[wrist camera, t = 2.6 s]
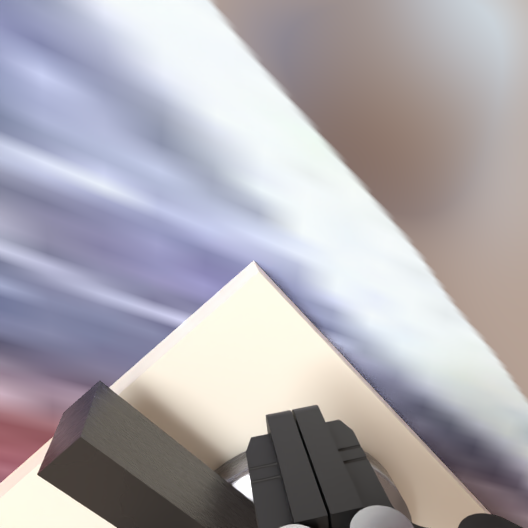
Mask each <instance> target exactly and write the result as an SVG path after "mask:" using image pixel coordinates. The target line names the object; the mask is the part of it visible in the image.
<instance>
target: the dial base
mask: <svg viewBox="0 0 528 528" xmlns="http://www.w3.org/2000/svg"><path fill="white" fill-rule="evenodd" d="M109 388H110V389H111V390H112V391H114V392H115V393H116V394H117V395H119V396H120V397H121V398H123V399H124V400H125V401H126V402H128V403H129V404H130V405H131V406H133V407H134V408H135V409H136V410H138V411H139V412H140V413H141V414H143V415H144V416H145V417H146V418H148V419H149V420H150V421H152V422H153V423H154V424H155V425H157V426H158V427H159V428H160V429H162V430H163V431H164V432H165V433H167V434H168V435H169V436H170V437H172V438H173V439H174V440H175V441H177V442H178V443H179V444H180V445H182V446H183V447H184V448H186V449H187V450H188V451H189V452H191V453H192V454H193V455H194V456H196V457H197V458H198V459H199V460H201V461H202V462H203V463H204V464H206V465H207V466H208V467H209V468H211V469H212V470H213V471H214V470H216V469H217V468H218V467H220V466H221V465H222V464H224V463H225V462H227V461H228V460H230V459H232V458H233V457H235V456H237V455H239V454H240V453H243V452H245V451H246V450H247V447H248V444H249V442H250V439H251V437H255V436H260V435H265V434H268V432H267V424H266V415H267V414H272V413H277V412H282V411H287V410H291V412H292V409H297V408H302V407H307V406H312V405H318V407H319V409H320V411H321V413H322V415H323V417H324V420H325V422H329V421H334V420H341V421H342V422H343V423H344V424H346V425H347V426H348V427H349V428H351V429H352V430H353V431H354V433H355V435H356V437H357V439H358V441H359V443H360V446H361V447H362V449H363V451H365V452H367V453H368V454H370V455H371V456H372V457H374V458H375V459H376V460H377V461H378V462H380V464H381V465H382V466H383V467H384V468H385V469H386V470H387V472H388V474H389V475H390V477H391V479H392V480H393V482H394V484H395V485H396V487H397V489H398V491H399V493H400V494H401V496H402V498H403V500H404V501H405V503H406V505H407V507H408V510H409V512H410V515H411V518H412V523H414V524H416V525H419V526H422V527H426V528H458V526H459V524H460V522H461V521H462V520H463V519H464V518H465V517H467V516H469V515H472V514H477V513H487V514H491V513H490V512H489V511H488V510H487V509H486V508H485V507H484V506H483V505H482V504H481V503H480V502H479V501H478V499H477V498H476V497H475V496H474V495H473V494H472V493H471V492H470V491H469V490H468V489H467V488H466V487H465V486H464V484H463V483H462V482H461V481H460V480H459V479H458V478H457V477H456V476H455V475H454V474H453V473H452V472H451V471H450V470H449V468H448V467H447V466H446V465H445V464H444V463H443V462H442V461H441V460H440V459H439V458H438V457H437V456H436V455H435V454H434V452H433V451H432V450H431V449H430V448H429V447H428V446H427V445H426V444H425V443H424V442H423V441H422V440H421V439H420V438H419V436H418V435H417V434H416V433H415V432H414V431H413V430H412V429H411V428H410V427H409V426H408V425H407V424H406V423H405V422H404V420H403V419H402V418H401V417H400V416H399V415H398V414H397V413H396V412H395V411H394V410H393V409H392V408H391V407H390V405H389V404H388V403H387V402H386V401H385V400H384V399H383V398H382V397H381V396H380V395H379V394H378V393H377V392H376V391H375V389H374V388H373V387H372V386H371V385H370V384H369V383H368V382H367V381H366V380H365V379H364V378H363V377H362V376H361V375H360V373H359V372H358V371H357V370H356V369H355V368H354V367H353V366H352V365H351V364H350V363H349V362H348V361H347V360H346V359H345V357H344V356H343V355H342V354H341V353H340V352H339V351H338V350H337V349H336V348H335V347H334V346H333V345H332V344H331V343H330V341H329V340H328V339H327V338H326V337H325V336H324V335H323V334H322V333H321V332H320V331H319V330H318V329H317V328H316V327H315V325H314V324H313V323H312V322H311V321H310V320H309V319H308V318H307V317H306V316H305V315H304V314H303V313H302V312H301V310H300V309H299V308H298V307H297V306H296V305H295V304H294V303H293V302H292V301H291V300H290V299H289V298H288V297H287V296H286V294H285V293H284V292H283V291H282V290H281V289H280V288H279V287H278V286H277V285H276V284H275V283H274V282H273V281H272V280H271V278H270V277H269V276H268V275H267V274H266V273H265V272H264V271H263V270H262V269H261V268H260V267H259V266H258V265H257V264H256V262H255V261H253V262H251V263H250V264H249V265H248V266H247V267H246V268H245V269H244V270H242V271H241V272H240V273H239V274H238V275H237V276H236V277H234V278H233V279H232V280H231V281H230V282H229V283H228V284H226V285H225V286H224V287H223V288H222V289H221V290H220V291H218V292H217V293H216V294H215V295H214V296H213V297H212V298H211V299H209V300H208V301H207V302H206V303H205V304H204V305H203V306H201V307H200V308H199V309H198V310H197V311H196V312H195V313H193V314H192V315H191V316H190V317H189V318H188V319H187V320H186V321H184V322H183V323H182V324H181V325H180V326H179V327H178V328H176V329H175V330H174V331H173V332H172V333H171V334H170V335H168V336H167V337H166V338H165V339H164V340H163V341H162V342H160V343H159V344H158V345H157V346H156V347H155V348H154V349H153V350H151V351H150V352H149V353H148V354H147V355H146V356H145V357H143V358H142V359H141V360H140V361H139V362H138V363H137V364H135V365H134V366H133V367H132V368H131V369H130V370H129V371H128V372H126V373H125V374H124V375H123V376H122V377H121V378H120V379H118V380H117V381H116V382H115V383H114V384H113V385H112V386H110V387H109ZM52 439H53V437H52V438H51V439H50V440H49V441H48V442H47V443H46V444H44V445H43V446H42V447H41V448H40V449H39V450H38V451H37V452H35V453H34V454H33V455H32V456H31V457H30V458H29V459H27V460H26V461H25V462H24V463H23V464H22V465H21V466H19V467H18V468H17V469H16V470H15V471H14V472H13V473H12V474H10V475H9V476H8V477H7V478H6V479H5V480H4V481H2V482H1V483H0V528H117V527H115V526H114V525H112V524H110V523H109V522H107V521H106V520H104V519H103V518H101V517H100V516H98V515H97V514H95V513H94V512H92V511H91V510H89V509H88V508H86V507H85V506H83V505H82V504H80V503H79V502H77V501H76V500H74V499H73V498H71V497H70V496H68V495H67V494H65V493H64V492H62V491H61V490H59V489H58V488H56V487H55V486H53V485H52V484H50V483H49V482H47V481H46V480H44V479H43V478H41V477H40V476H38V475H37V473H38V471H39V469H40V466H41V464H42V462H43V459H44V457H45V455H46V453H47V450H48V448H49V446H50V443H51V441H52Z"/></svg>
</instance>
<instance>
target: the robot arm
mask: <svg viewBox="0 0 528 528" xmlns="http://www.w3.org/2000/svg"><path fill="white" fill-rule="evenodd" d="M266 424H267V432H268V434H265V435H260V436H255V437H251V439H250V442H249V444H248V447H247V450H246V457H247V464H248V470H249V477H250V483H251V490H252V496H253V502H254V508H255V514H256V520H257V526H258V528H426V527H422V526H419V525H416V524H414V523H412V522H410V521H409V519H408V518H407V517H406V516H405V515H403V514H402V513H401V512H399V511H397V510H395V509H394V507H393V506H392V504H391V502H390V500H389V499H388V497H387V495H386V493H385V491H384V489H383V487H382V485H381V483H380V481H379V479H378V477H377V476H376V474H375V472H374V470H373V468H372V466H371V464H370V462H369V460H368V459H367V457H366V454H365V453H364V451H363V449H362V447H361V446H360V443H359V441H358V439H357V437H356V435H355V433H354V431H353V430H352V429H351V428H349V427H348V426H347V425H346V424H344V423H343V422H342V421H341V420H334V421H329V422H325V420H324V417H323V415H322V413H321V411H320V409H319V407H318V405H312V406H307V407H302V408H297V409H292V412H291V410H287V411H282V412H277V413H272V414H267V415H266ZM458 528H522V527H520V526H518V525H516V524H514V523H512V522H510V521H508V520H506V519H504V518H501V517H499V516H496V515H492V514H487V513H477V514H472V515H469V516H467V517H465V518H464V519H463V520H462V521H461V522H460V524H459V526H458Z"/></svg>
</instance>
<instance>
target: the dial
mask: <svg viewBox="0 0 528 528" xmlns="http://www.w3.org/2000/svg"><path fill="white" fill-rule="evenodd" d="M364 453H365V454H366V457H367V459H368V460H369V462H370V464H371V466H372V468H373V470H374V472H375V474H376V476H377V477H378V479H379V481H380V483H381V485H382V487H383V489H384V491H385V493H386V495H387V497H388V499H389V500H390V502H391V504H392V506H393V507H394V509H395V510H397V511H399V512H401V513H402V514H403V515H405V516H406V517H407V518H408V519H409V521H410V522H412V518H411V515H410V512H409V510H408V507H407V505H406V503H405V501H404V500H403V498H402V496H401V494H400V493H399V491H398V489H397V487H396V485H395V484H394V482H393V480H392V479H391V477H390V475H389V474H388V472H387V470H386V469H385V468H384V467H383V466H382V465H381V464H380V462H378V461H377V460H376V459H375V458H374V457H372V456H371V455H370V454H368V453H367V452H365V451H364ZM37 475H38V476H40V477H41V478H43V479H44V480H46V481H47V482H49V483H50V484H52V485H53V486H55V487H56V488H58V489H59V490H61V491H62V492H64V493H65V494H67V495H68V496H70V497H71V498H73V499H74V500H76V501H77V502H79V503H80V504H82V505H83V506H85V507H86V508H88V509H89V510H91V511H92V512H94V513H95V514H97V515H98V516H100V517H101V518H103V519H104V520H106V521H107V522H109V523H110V524H112V525H114V526H115V527H117V528H258V526H257V520H256V514H255V508H254V502H253V496H252V490H251V483H250V477H249V470H248V464H247V457H246V451H245V452H243V453H240V454H239V455H237V456H235V457H233V458H232V459H230V460H228V461H227V462H225V463H224V464H222V465H221V466H220V467H218V468H217V469H216V470H214V471H213V470H212V469H211V468H209V467H208V466H207V465H206V464H204V463H203V462H202V461H201V460H199V459H198V458H197V457H196V456H194V455H193V454H192V453H191V452H189V451H188V450H187V449H186V448H184V447H183V446H182V445H180V444H179V443H178V442H177V441H175V440H174V439H173V438H172V437H170V436H169V435H168V434H167V433H165V432H164V431H163V430H162V429H160V428H159V427H158V426H157V425H155V424H154V423H153V422H152V421H150V420H149V419H148V418H146V417H145V416H144V415H143V414H141V413H140V412H139V411H138V410H136V409H135V408H134V407H133V406H131V405H130V404H129V403H128V402H126V401H125V400H124V399H123V398H121V397H120V396H119V395H117V394H116V393H115V392H114V391H112V390H111V389H110V388H109V387H107V386H106V385H105V384H104V383H102V382H101V381H99V382H98V383H97V384H95V385H94V386H93V387H92V388H91V389H90V390H89V391H88V392H86V393H85V394H84V395H83V396H82V397H81V398H80V399H78V400H77V401H76V402H75V403H74V404H73V405H72V406H71V407H69V408H68V409H67V410H66V411H65V412H64V413H63V415H62V418H61V420H60V422H59V425H58V427H57V429H56V432H55V434H54V436H53V439H52V441H51V443H50V446H49V448H48V450H47V453H46V455H45V457H44V459H43V462H42V464H41V466H40V469H39V471H38V473H37Z"/></svg>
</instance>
